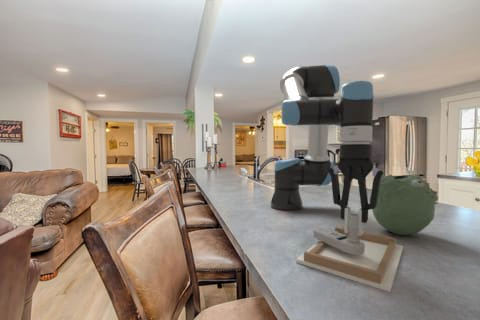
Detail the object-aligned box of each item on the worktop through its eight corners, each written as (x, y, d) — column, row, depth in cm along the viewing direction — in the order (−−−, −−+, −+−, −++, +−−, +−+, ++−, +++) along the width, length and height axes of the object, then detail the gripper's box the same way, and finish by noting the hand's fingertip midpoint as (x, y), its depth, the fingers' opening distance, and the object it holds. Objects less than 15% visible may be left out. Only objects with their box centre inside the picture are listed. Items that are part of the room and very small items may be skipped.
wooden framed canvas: (330, 233, 80) (330, 225, 80) (403, 249, 67) (403, 239, 67) (296, 262, 60) (296, 251, 60) (390, 292, 47) (390, 278, 47)
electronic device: (323, 202, 73) (370, 216, 60) (321, 234, 74) (368, 254, 61) (310, 204, 71) (357, 219, 58) (309, 237, 71) (355, 258, 58)
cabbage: (376, 222, 92) (377, 170, 91) (439, 235, 78) (442, 174, 77) (361, 232, 81) (362, 173, 80) (432, 249, 67) (435, 178, 66)
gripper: (320, 143, 64) (319, 230, 65) (388, 142, 54) (385, 244, 55) (329, 144, 70) (328, 223, 71) (392, 143, 60) (390, 235, 61)
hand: (353, 232), depth 63 cm, fingers open, 2 cm apart
